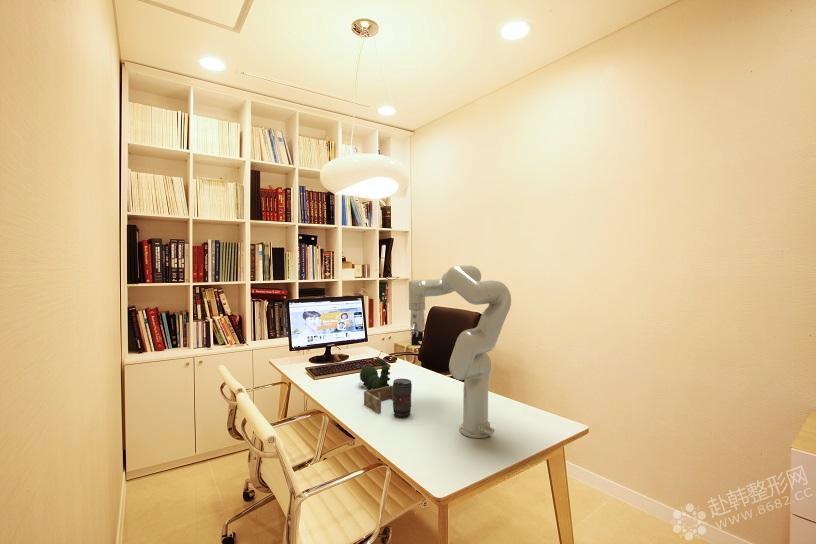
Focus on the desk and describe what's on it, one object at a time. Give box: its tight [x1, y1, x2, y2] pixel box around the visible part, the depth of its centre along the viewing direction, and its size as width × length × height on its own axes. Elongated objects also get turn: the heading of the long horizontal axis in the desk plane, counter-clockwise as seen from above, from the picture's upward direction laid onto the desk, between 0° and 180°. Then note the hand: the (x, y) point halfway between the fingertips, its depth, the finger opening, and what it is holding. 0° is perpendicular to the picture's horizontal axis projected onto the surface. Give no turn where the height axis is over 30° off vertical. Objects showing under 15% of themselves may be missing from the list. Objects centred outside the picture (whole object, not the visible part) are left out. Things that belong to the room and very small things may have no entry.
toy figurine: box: [359, 358, 391, 391], centre depth 193 cm, size 9×19×25 cm
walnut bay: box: [363, 384, 393, 415], centre depth 172 cm, size 13×15×9 cm
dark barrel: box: [392, 378, 413, 419], centre depth 161 cm, size 8×8×15 cm
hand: (417, 343), depth 173 cm, fingers open, 9 cm apart
